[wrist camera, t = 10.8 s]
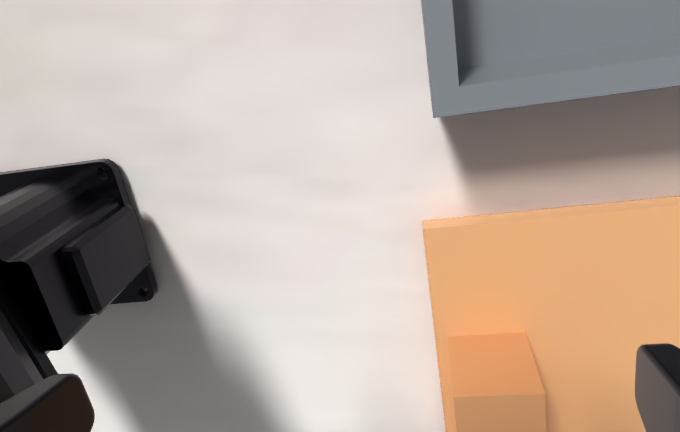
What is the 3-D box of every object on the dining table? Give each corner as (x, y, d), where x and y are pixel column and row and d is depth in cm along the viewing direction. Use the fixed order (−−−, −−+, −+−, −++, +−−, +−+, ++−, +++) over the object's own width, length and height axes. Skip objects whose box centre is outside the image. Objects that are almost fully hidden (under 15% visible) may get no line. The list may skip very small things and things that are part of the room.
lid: (452, 479, 27) (460, 586, 22) (422, 210, 22) (423, 275, 17) (781, 476, 24) (873, 597, 19) (840, 169, 19) (986, 231, 14)
